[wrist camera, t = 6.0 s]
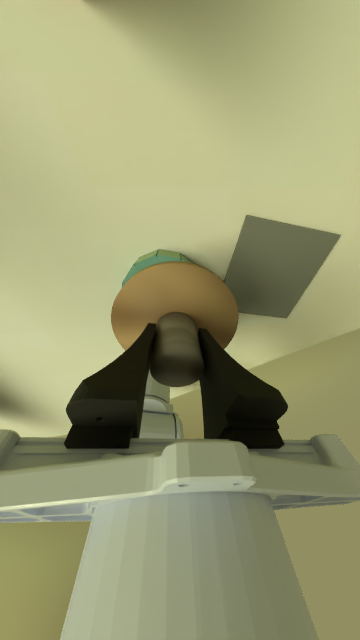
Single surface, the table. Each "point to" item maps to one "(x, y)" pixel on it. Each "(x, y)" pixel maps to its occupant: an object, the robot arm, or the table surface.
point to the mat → (275, 265)
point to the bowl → (153, 261)
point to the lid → (175, 317)
